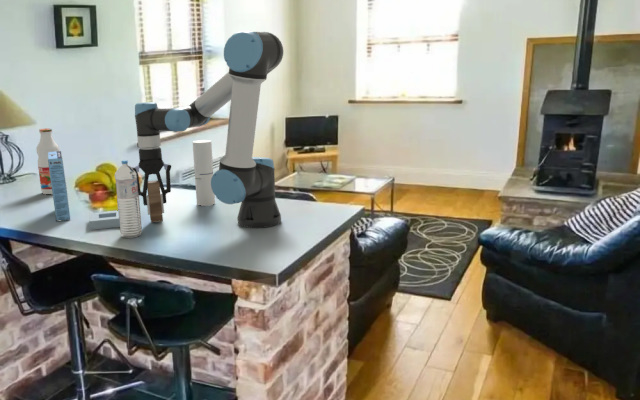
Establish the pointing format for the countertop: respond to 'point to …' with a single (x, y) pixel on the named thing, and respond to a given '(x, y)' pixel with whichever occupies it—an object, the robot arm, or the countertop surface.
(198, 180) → the cylindrical container
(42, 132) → the fruit juice
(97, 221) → the socket block
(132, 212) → the water bottle
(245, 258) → the countertop surface
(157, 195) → the peg
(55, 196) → the blue cardboard box
